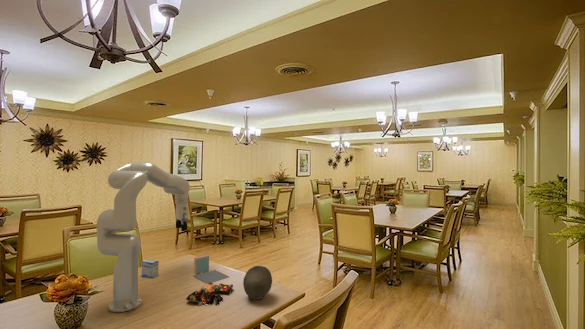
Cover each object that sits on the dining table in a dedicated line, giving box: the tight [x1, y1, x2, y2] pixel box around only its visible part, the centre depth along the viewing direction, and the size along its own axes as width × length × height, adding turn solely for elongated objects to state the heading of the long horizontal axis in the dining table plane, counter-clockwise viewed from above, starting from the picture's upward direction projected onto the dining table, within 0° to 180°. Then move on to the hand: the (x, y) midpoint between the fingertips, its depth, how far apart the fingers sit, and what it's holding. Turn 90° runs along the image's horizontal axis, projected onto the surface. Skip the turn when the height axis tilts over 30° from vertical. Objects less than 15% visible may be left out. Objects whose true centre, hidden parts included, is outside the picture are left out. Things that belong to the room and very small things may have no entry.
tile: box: [193, 254, 210, 275], centre depth 172 cm, size 3×8×9 cm, turn 137°
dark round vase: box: [242, 265, 273, 300], centre depth 139 cm, size 14×14×15 cm
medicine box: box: [141, 259, 160, 279], centre depth 164 cm, size 8×4×9 cm, turn 73°
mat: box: [193, 269, 230, 284], centre depth 165 cm, size 15×14×1 cm
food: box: [185, 282, 234, 306], centre depth 141 cm, size 22×19×4 cm
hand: (181, 229), depth 175 cm, fingers open, 9 cm apart
